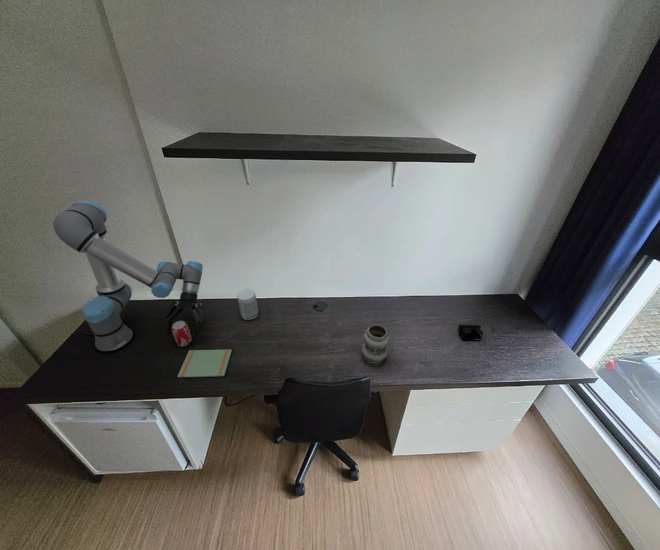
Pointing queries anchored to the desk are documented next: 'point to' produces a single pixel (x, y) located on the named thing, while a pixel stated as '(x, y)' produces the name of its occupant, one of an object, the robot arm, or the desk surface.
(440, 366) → the desk surface
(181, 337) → the soda can
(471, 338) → the end cap
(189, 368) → the towel
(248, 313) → the supplement tub
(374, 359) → the apothecary jar
